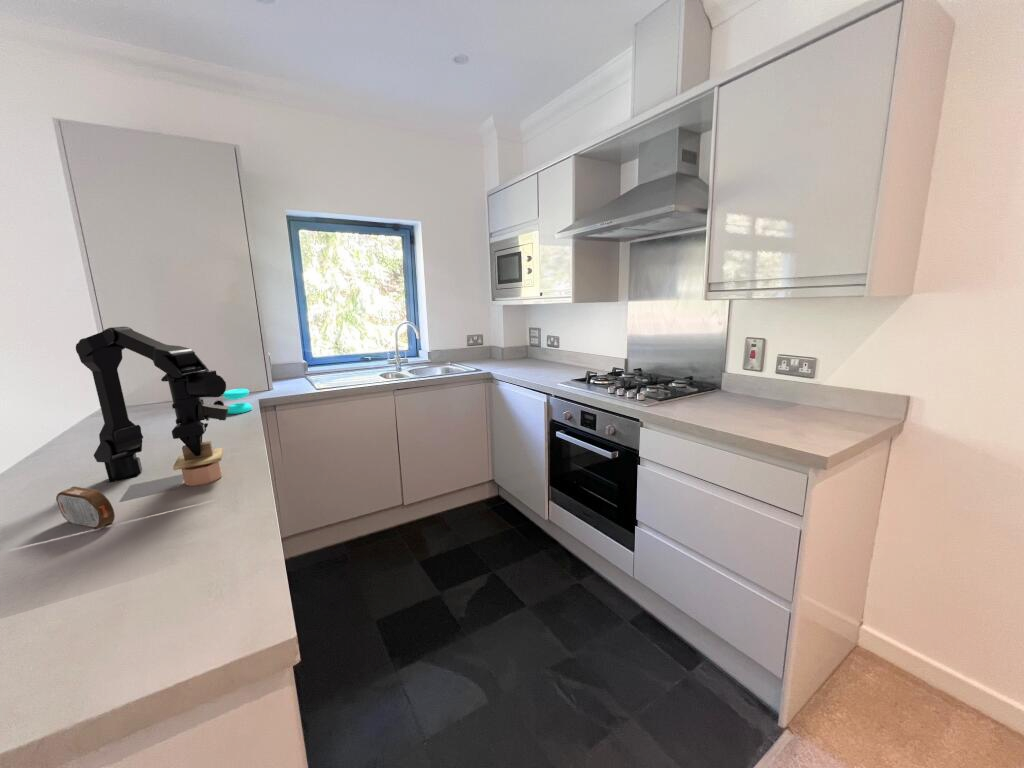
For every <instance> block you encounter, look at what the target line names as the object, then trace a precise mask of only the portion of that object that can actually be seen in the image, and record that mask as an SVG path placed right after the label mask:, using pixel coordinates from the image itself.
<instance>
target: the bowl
mask: <svg viewBox="0 0 1024 768" xmlns="http://www.w3.org/2000/svg"><path fill="white" fill-rule="evenodd" d="M181 472H182V474H183V478H184V480H183V482H184V485H187V486H191V487H195V486H203V485H206V484H210V483H213V482H215V481H217V480H219V479H220V478H222V475H223V470H222V466H221V461H218V462H213V463H208V464H203V465H198V466H193V467H188V468H183V469H181Z"/></svg>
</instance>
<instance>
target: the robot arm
mask: <svg viewBox="0 0 1024 768" xmlns="http://www.w3.org/2000/svg"><path fill="white" fill-rule="evenodd" d="M125 349H127V350H129V351H132V352H134V353H135V354H139V355H141V356H143V357H145V358H147V359H149V360H150V361H152V363H153V364H154V366H155V368H158V369H159V370H160V371H162V372H164V373H165V375H164V376H163V377H162V378H161V380H160V381H161V382H168V386H169V391H170V395H171V398H172V404H171V407H172V409H174V413H175V417H176V419H175V424H176V425H175V426H174V427H173V428H172V430H171V435H172V439H174V440H176V439H177V440H178V439H180V441H181V442H182V443H183V444H184V446H185V445H186V446H187V447H188V448H189V449H190V450H191V452H192V453H193V454H194V455H195V456H200V455H201V443H202V442H203V435H204V434H205V433H206V430H207V428H208V426H209V423H208V421H210V419H214V420H219V421H226V420H227V416H228V408H229V407H228V405H225V403H224V401H223V400H220V399H216V400H215V401H214V402H213V403H210V402H209V403H205V401H204V399H203V398H220V397H223V394H224V392H226V391H227V390H226V389H227V384H226V383H227V382H226V381H225V379H224V378H223V377H222V376H220V375H218V374H217V370H213V369H211V370H209V368H208V367H207V365H206V364H204V363H203V361H202V360H201V359H200V358H199V356H198V355H197V354H196V352H195V351H194V350H193V349H191V348H190V347H186V346H180V345H174V344H173V345H170V344H166V343H163V342H160V341H158V340H156V339H154V338H152V337H149V336H147V335H145V334H142V333H139V332H138V331H135V330H133V329H132V328H131V327H129V326H116V327H113V326H112V327H108V328H106V329H104V330H102V331H101V332H98V333H95V334H92V335H90V336H88V337H85V338H84V337H83V338H81V339H79V341H78V343H76V344H75V351H76V353H77V356H78V357H79V361H80V363H81V364H83V365H84V366H85V367H86V368H88V369H89V371H91V373H92V377H93V382H94V386H95V389H96V394H97V397H98V401H99V406H100V410H101V413H102V414H101V415H102V418H103V423H104V424H103V426H102V428H101V429H100V432H99V435H98V437H99V438H98V439H99V445H97V448H96V451H95V452H94V453H93V457H94V460H95V461H96V463H104V466H105V470H106V474H107V477H108V479H107V481H106V483H107V484H108V483H113V482H119V481H124V480H129V479H133V478H138V477H139V475H140V474H141V473H142V471H143V466H142V462H141V459H140V457H139V456H138V457H137V453H141V452H142V451H143V450H142V449H143V439H144V435H143V433H142V428H141V426H140V425H139V424H135V423H134V422H132V421H131V420H130V418H129V415H128V410H127V405H126V401H125V397H124V393H123V388H122V384H121V379H120V375H119V371H118V368H119V366H120V364H121V362H122V360H123V350H125ZM205 420H206V422H207V423H204V422H202V421H205Z"/></svg>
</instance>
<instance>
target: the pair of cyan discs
mask: <svg viewBox="0 0 1024 768" xmlns="http://www.w3.org/2000/svg"><path fill="white" fill-rule="evenodd" d="M249 394H250V390H249V389H247V388H236V389H229V390H225V392H224V394H223V395H222V397H223V398H224V399H226V400H231V401H232V400H240V399H244V398H246V397H247V396H248V395H249ZM227 406H228V405H227ZM228 407H229V408H228V413H227V415H237V414H238V415H239V414H243V413H247V412H250V411H252V409H253V406H252V404H251V403H248V402H238V403H233V404H231V405H229V406H228Z"/></svg>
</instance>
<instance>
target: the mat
mask: <svg viewBox="0 0 1024 768" xmlns="http://www.w3.org/2000/svg"><path fill="white" fill-rule="evenodd" d="M183 482H184V478H183V473H182V474H177V475H173V476H167V477H163V478H159V479H153V480H149V481H144V482H140V483H134V484H131V485H129V487H128V488H127V490H126V491H125V492H124V494H123V495H122V497H120V499H119V501H118V502H119V503H122V502H125V501H130V500H131V501H132V500H135V499H139V498H144V497H148V496H153V495H159V494H161V493H167V492H171V491H175V490H179V489H181V487H182V485H183Z"/></svg>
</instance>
